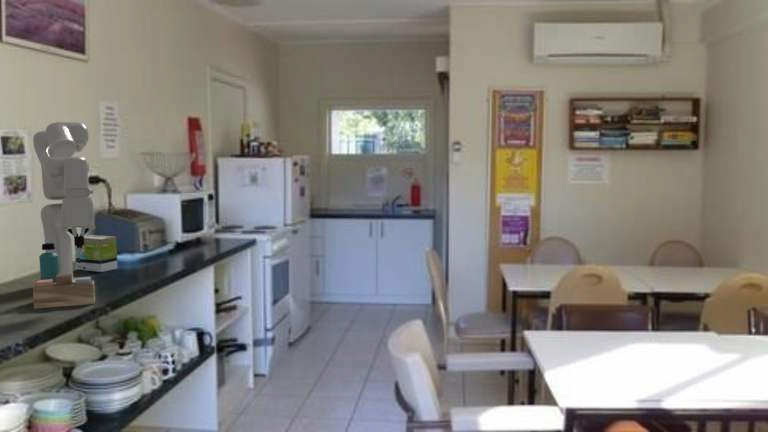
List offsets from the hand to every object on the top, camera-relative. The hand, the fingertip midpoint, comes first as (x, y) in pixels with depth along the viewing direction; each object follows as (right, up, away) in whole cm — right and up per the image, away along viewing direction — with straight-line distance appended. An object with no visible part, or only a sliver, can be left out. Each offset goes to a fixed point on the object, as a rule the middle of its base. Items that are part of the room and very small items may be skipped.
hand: (79, 247), depth 240 cm
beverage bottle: (-14, -19, +9) cm, 25 cm away
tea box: (-23, -13, +71) cm, 75 cm away
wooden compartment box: (-5, -19, 0) cm, 20 cm away
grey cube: (+1, -16, +2) cm, 16 cm away
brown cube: (-5, -14, 0) cm, 15 cm away
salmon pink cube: (-11, -16, -2) cm, 19 cm away
